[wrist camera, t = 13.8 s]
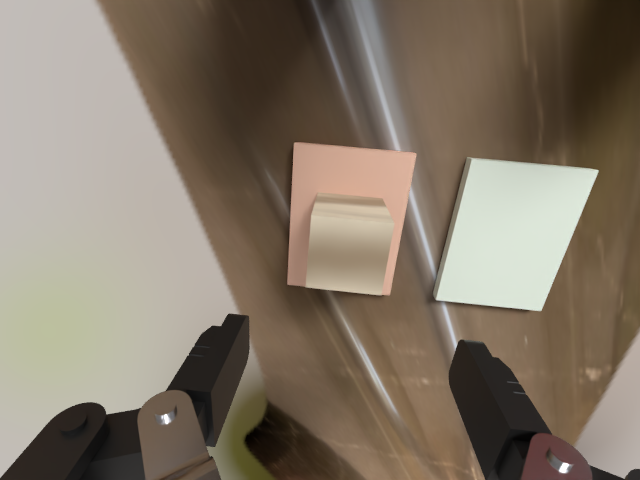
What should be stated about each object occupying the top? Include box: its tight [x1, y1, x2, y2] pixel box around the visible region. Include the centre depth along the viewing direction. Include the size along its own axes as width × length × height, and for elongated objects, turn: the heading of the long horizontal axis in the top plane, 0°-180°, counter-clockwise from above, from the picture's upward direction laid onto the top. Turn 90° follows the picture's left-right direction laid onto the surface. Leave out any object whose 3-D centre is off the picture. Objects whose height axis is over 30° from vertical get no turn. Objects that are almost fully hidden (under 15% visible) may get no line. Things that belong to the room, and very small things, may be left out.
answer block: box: [306, 192, 395, 295], centre depth 23 cm, size 5×5×6 cm
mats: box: [287, 142, 599, 311], centre depth 26 cm, size 12×22×1 cm, turn 85°
